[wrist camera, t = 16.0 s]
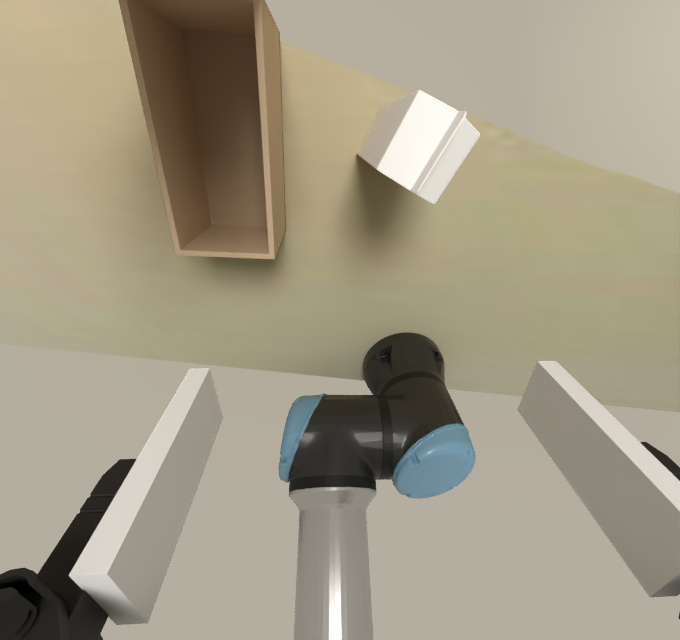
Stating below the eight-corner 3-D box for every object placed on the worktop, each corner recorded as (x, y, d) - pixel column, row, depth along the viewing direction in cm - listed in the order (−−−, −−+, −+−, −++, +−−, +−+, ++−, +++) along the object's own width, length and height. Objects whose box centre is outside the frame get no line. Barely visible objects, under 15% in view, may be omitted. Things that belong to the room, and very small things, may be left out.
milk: (356, 153, 41) (379, 174, 22) (380, 104, 38) (430, 81, 20) (394, 177, 43) (445, 215, 24) (420, 132, 40) (501, 134, 21)
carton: (285, 230, 46) (274, 259, 36) (209, 226, 45) (176, 255, 35) (279, 31, 35) (260, -9, 24) (177, 22, 34) (113, -24, 24)
